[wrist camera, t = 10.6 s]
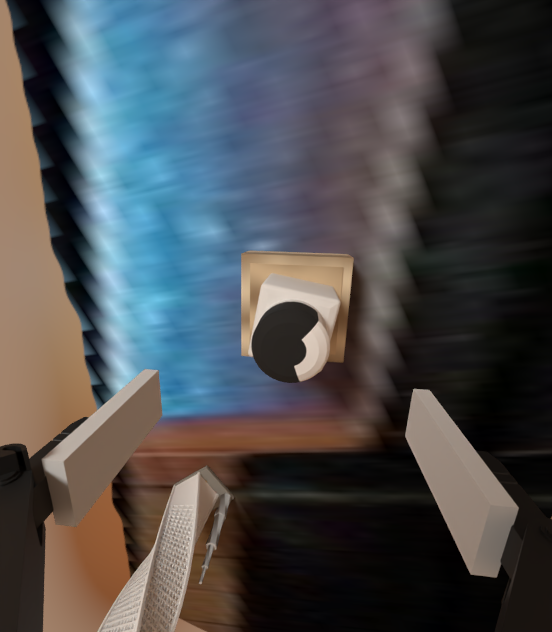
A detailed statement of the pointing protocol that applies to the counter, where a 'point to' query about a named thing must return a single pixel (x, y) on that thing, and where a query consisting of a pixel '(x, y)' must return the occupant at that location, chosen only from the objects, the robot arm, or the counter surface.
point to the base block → (299, 266)
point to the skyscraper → (171, 557)
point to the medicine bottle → (293, 327)
